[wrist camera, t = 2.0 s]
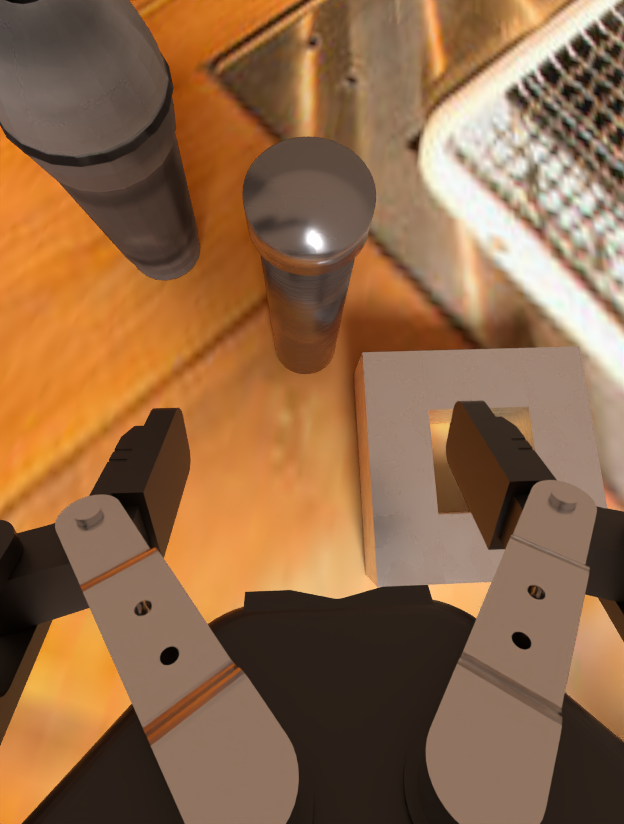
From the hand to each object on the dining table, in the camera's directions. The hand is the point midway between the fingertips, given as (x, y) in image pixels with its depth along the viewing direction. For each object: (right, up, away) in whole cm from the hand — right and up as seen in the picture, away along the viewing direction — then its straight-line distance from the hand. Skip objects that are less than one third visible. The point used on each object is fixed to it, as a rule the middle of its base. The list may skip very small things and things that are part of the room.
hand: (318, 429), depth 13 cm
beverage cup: (-10, +11, +17) cm, 22 cm away
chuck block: (+9, -3, +14) cm, 16 cm away
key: (-1, +5, +15) cm, 16 cm away
